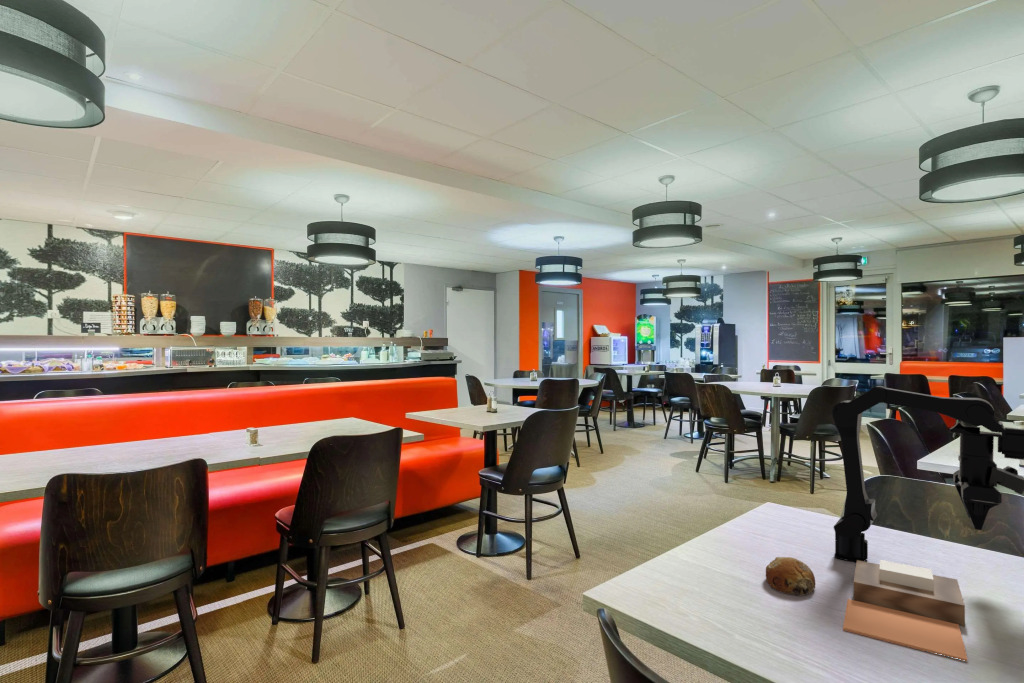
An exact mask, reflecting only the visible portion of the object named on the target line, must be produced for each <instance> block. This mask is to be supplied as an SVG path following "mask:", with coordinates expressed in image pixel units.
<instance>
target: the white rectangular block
mask: <svg viewBox="0 0 1024 683" xmlns="http://www.w3.org/2000/svg"><path fill="white" fill-rule="evenodd" d="M879 564H880V580H881V581H886V582H890V583H895V584H900V585H905V586H910V587H914V588H919V589H924V590H929V591H934V584H933V575H934V574H933V570H932V569H931V568H926V567H921V566H915V565H909V564H906V563H905V564H904V563H899V562H895V561H894V562H893V561H889V560H884V559H883V560H882V559H879Z"/></svg>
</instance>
